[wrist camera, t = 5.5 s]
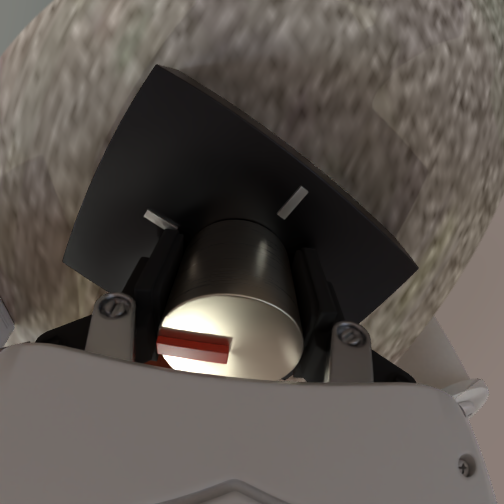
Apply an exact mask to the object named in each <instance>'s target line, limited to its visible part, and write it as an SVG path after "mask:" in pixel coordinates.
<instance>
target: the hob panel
mask: <svg viewBox="0 0 504 504" xmlns="http://www.w3.org/2000/svg"><path fill="white" fill-rule="evenodd" d="M225 220H245V221H250V222H253V223H256V224H259V225H261V226H263V227H265V228H267V229H268V230H270V231H271V232H272V233H273V234H275V235H276V236H277V237H278V238H279V240H280V241H281V242H282V244H283V245H284V247H285V249H286V251H287V254H288V258H289V262H290V267H292V264H293V260H294V256H295V253H296V250H301V248H302V247H304V248H311V249H316V252H317V254H318V257H319V260H320V263H321V266H322V269H323V271H324V274H325V277H326V280H327V281H330V282H331V283H332V284H333V287H334V290H335V293H336V296H337V299H338V301H339V304H340V307H341V310H342V313H343V316H344V319H345V320H346V321H352V322H355V323H358V324H359V323H360V322H361V321H362V320H364V319H365V318H366V317H367V316H368V315H369V314H371V313H372V312H373V311H374V310H375V309H376V308H377V307H378V306H380V305H381V304H382V303H383V302H384V301H385V300H386V299H387V298H388V297H389V296H391V295H392V294H393V293H394V292H395V291H396V290H397V289H398V288H399V287H400V286H401V285H402V284H403V283H404V282H405V281H406V280H408V279H409V278H410V277H411V276H412V275H413V274H414V273H415V272H416V271H417V270H418V266H417V265H416V263H415V262H414V261H413V260H412V258H411V257H410V256H409V254H408V253H407V252H406V251H405V249H404V248H403V247H402V246H401V244H400V243H399V242H398V241H397V239H396V238H395V237H394V236H393V235H392V234H391V233H390V232H389V231H388V230H387V229H386V228H385V227H383V226H382V225H381V224H380V223H379V222H378V221H377V220H376V219H375V218H374V217H373V216H372V215H371V214H370V213H369V212H368V211H366V210H365V209H364V208H363V207H362V206H361V205H360V204H359V203H358V202H357V201H355V200H354V199H353V198H352V197H351V196H350V195H349V194H348V193H346V192H345V191H344V190H343V189H342V188H341V187H340V186H338V185H337V184H336V183H335V182H334V181H333V180H331V179H330V178H329V177H328V176H327V175H325V174H324V173H323V172H322V171H321V170H319V169H318V168H317V167H316V166H315V165H313V164H312V163H311V162H310V161H308V160H307V159H306V158H305V157H303V156H302V155H301V154H300V153H298V152H297V151H296V150H294V149H293V148H292V147H291V146H289V145H288V144H287V143H285V142H284V141H283V140H281V139H280V138H279V137H277V136H276V135H275V134H273V133H272V132H271V131H269V130H268V129H267V128H265V127H264V126H263V125H261V124H260V123H258V122H257V121H256V120H254V119H253V118H251V117H250V116H248V115H247V114H246V113H244V112H243V111H241V110H240V109H238V108H237V107H235V106H234V105H232V104H231V103H230V102H228V101H227V100H225V99H223V98H222V97H220V96H219V95H217V94H216V93H214V92H213V91H211V90H210V89H208V88H206V87H205V86H203V85H202V84H200V83H198V82H197V81H195V80H194V79H192V78H190V77H189V76H187V75H185V74H184V73H182V72H180V71H179V70H176V69H173V68H169V67H165V66H161V65H155V67H154V68H153V70H152V71H151V73H150V74H149V76H148V77H147V79H146V80H145V82H144V83H143V85H142V87H141V88H140V90H139V91H138V93H137V95H136V96H135V98H134V100H133V101H132V103H131V105H130V106H129V108H128V110H127V112H126V113H125V115H124V117H123V119H122V120H121V122H120V124H119V126H118V128H117V130H116V132H115V133H114V135H113V137H112V139H111V141H110V143H109V145H108V147H107V149H106V151H105V153H104V155H103V157H102V159H101V162H100V164H99V166H98V168H97V170H96V172H95V175H94V177H93V179H92V181H91V184H90V186H89V188H88V191H87V193H86V196H85V198H84V201H83V203H82V206H81V208H80V211H79V213H78V216H77V219H76V221H75V224H74V227H73V230H72V233H71V236H70V238H69V241H68V244H67V248H66V251H65V254H64V257H63V260H62V262H63V263H65V264H66V265H68V266H69V267H71V268H72V269H74V270H75V271H77V272H78V273H80V274H81V275H83V276H84V277H86V278H87V279H89V280H90V281H92V282H93V283H95V284H97V285H98V286H100V287H101V288H103V289H105V290H106V291H108V292H109V293H111V292H122V290H123V288H124V287H125V285H126V283H127V281H128V279H129V277H130V276H131V274H132V272H133V270H134V268H135V267H136V265H137V263H138V261H139V260H140V258H141V257H150V256H151V254H152V252H153V250H154V248H155V246H156V244H157V243H158V241H159V239H160V237H161V235H162V234H163V232H164V230H165V229H173V230H179V234H183V235H184V240H183V256H184V253H185V250H186V248H187V246H188V244H189V242H190V241H191V239H192V238H193V237H194V236H195V235H196V234H197V233H198V232H199V231H201V230H202V229H204V228H205V227H207V226H209V225H211V224H213V223H217V222H220V221H225ZM292 375H293V370H292V371H291V372H290V373H288V374H287V375H286V376H284V377H283V378H281V379H283V380H286V379H288V378H289V377H290V376H292Z"/></svg>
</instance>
